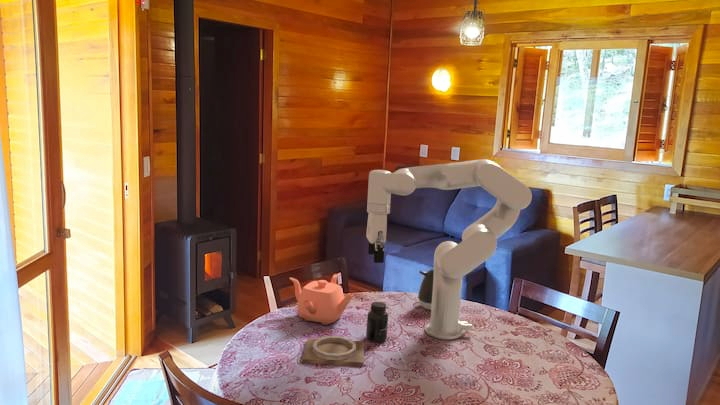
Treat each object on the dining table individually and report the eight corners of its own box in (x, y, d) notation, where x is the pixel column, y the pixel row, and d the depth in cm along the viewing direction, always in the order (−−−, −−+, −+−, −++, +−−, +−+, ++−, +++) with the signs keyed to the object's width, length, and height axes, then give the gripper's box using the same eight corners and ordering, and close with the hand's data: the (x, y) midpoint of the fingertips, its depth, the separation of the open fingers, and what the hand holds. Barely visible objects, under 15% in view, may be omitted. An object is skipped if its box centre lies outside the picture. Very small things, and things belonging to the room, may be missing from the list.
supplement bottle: (385, 344, 171) (387, 309, 169) (364, 341, 173) (365, 306, 170) (388, 335, 178) (390, 301, 176) (368, 333, 179) (369, 299, 177)
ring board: (364, 344, 170) (364, 336, 170) (363, 366, 157) (363, 357, 156) (307, 341, 171) (307, 334, 170) (302, 362, 157) (302, 354, 156)
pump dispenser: (416, 301, 210) (419, 264, 207) (443, 303, 209) (446, 266, 206) (416, 311, 200) (419, 272, 197) (445, 313, 199) (448, 274, 196)
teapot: (288, 311, 194) (289, 275, 192) (335, 305, 202) (337, 270, 199) (303, 331, 178) (304, 292, 176) (354, 325, 185) (356, 286, 183)
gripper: (362, 202, 183) (360, 250, 186) (372, 213, 166) (369, 266, 169) (384, 203, 184) (381, 251, 187) (395, 213, 168) (392, 266, 171)
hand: (375, 258), depth 178 cm, fingers open, 9 cm apart
